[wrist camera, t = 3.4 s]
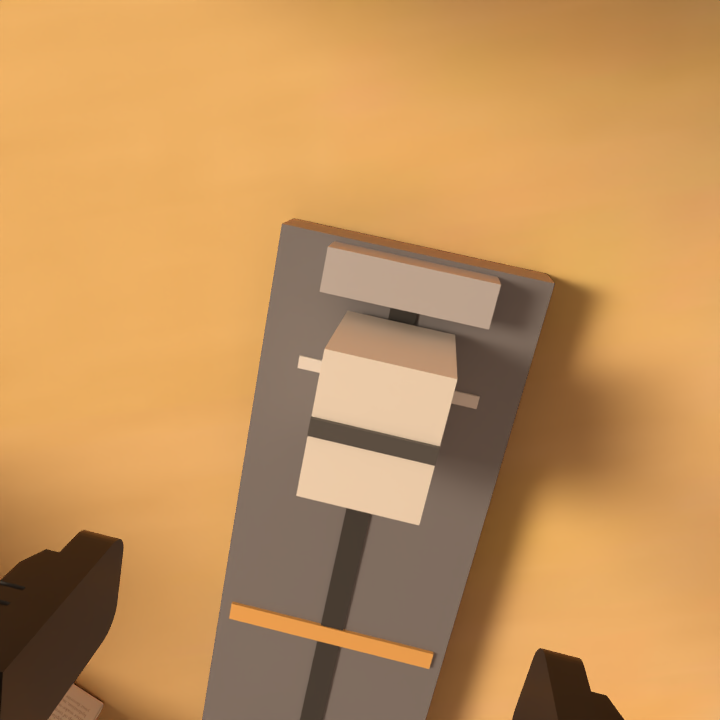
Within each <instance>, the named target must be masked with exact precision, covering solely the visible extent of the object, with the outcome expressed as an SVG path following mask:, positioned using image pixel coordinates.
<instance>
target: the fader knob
mask: <svg viewBox="0 0 720 720" xmlns="http://www.w3.org/2000/svg"><path fill="white" fill-rule="evenodd" d="M456 383H457V361H456V342H455V335H454V334H449V333H445V332H440V331H436V330H431V329H427V328H423V327H418V326H414V325H409V324H405V323H400V322H396V321H391V320H387V319H383V318H378V317H374V316H369V315H365V314H360V313H356V312H352V311H347V312H346V314H345V316H344V317H343V319H342V321H341V322H340V324H339V326H338V327H337V329H336V330H335V332H334V334H333V335H332V337H331V339H330V340H329V342H328V344H327V345H326V347H325V349H324V353H323V359H322V364H321V369H320V374H319V379H318V385H317V390H316V395H315V400H314V405H313V411H312V416H311V418H310V423H309V429H308V434H307V436H308V437H307V442H306V447H305V452H304V458H303V463H302V468H301V473H300V478H299V484H298V489H297V494H296V496H299V497H303V498H307V499H312V500H316V501H320V502H324V503H328V504H332V505H336V506H341V507H345V508H349V509H353V510H357V511H361V512H365V513H370V514H374V515H378V516H382V517H386V518H390V519H394V520H399V521H403V522H407V523H411V524H415V525H419V524H420V521H421V517H422V513H423V509H424V505H425V501H426V498H427V494H428V490H429V486H430V482H431V479H432V475H433V471H434V467H435V465H436V461H437V458H438V454H439V450H440V444H441V440H442V437H443V433H444V429H445V425H446V421H447V417H448V414H449V410H450V406H451V402H452V398H453V394H454V391H455V387H456Z"/></svg>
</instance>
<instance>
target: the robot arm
mask: <svg viewBox="0 0 720 720" xmlns="http://www.w3.org/2000/svg"><path fill="white" fill-rule="evenodd" d="M122 557H123V542H122V540H121V539H117V538H113V537H110V536H106V535H102V534H98V533H94V532H90V531H86V530H83V531H81V532H79V533H78V534H77V535H76V536H75V537H74V538H73V539H72V540H71V541H70V542H69V543H68V544H67V545H66V546H65V547H64V548H63V549H62V550H61V551H60V552H55V551H51V550H47V549H46V550H44V551H42V552H40V553H38V554H35V555H33V556H31V557H29V558H27V559H25V560H23V561H21V562H19V563H18V564H17V565H16V566H15V567H14V568H13V569H12V570H11V571H10V572H9V573H8V574H7V575H5V576H4V577H3V578H2V579H1V580H0V720H48V718H49V717H50V716H51V714H52V713H53V711H54V710H55V709H56V707H57V706H58V704H59V703H60V701H61V700H62V699H63V697H64V696H65V694H66V693H67V691H68V690H69V689H70V687H71V686H72V684H73V683H74V682H75V680H76V679H77V677H78V676H79V674H80V673H81V672H82V670H83V669H84V667H85V666H86V665H87V663H88V662H89V660H90V659H91V657H92V656H93V655H94V653H95V652H96V650H97V649H98V647H99V646H100V645H101V643H102V642H103V640H104V639H105V637H106V635H107V633H108V631H109V629H110V627H111V624H112V621H113V618H114V615H115V611H116V607H117V599H118V591H119V582H120V574H121V565H122ZM512 720H624V719H623V717H622V716H621V715H620V713H619V712H618V711H617V709H616V708H615V706H614V705H613V704H612V702H611V701H610V700H609V698H608V697H607V696H606V695H602V694H598V693H595V692H591V690H590V686H589V682H588V679H587V675H586V671H585V668H584V665H583V662H582V660H581V659H580V658H576V657H572V656H568V655H565V654H561V653H557V652H553V651H549V650H545V649H541V648H540V649H538V650H537V652H536V653H535V655H534V658H533V660H532V663H531V666H530V669H529V672H528V674H527V677H526V680H525V683H524V686H523V689H522V691H521V694H520V697H519V700H518V703H517V705H516V708H515V711H514V715H513V719H512Z"/></svg>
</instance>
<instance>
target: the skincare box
mask: <svg viewBox="0 0 720 720" xmlns="http://www.w3.org/2000/svg"><path fill="white" fill-rule="evenodd" d="M102 708H103V703H102V702H101V701H99V700H98V699H96V698H94V697H93V696H91V695H90V694H88V693H87V692H85V691H84V690H82V689H81V688H79V687H78V686H76V685H75V684H72V686H71V687H70V689H69V690H68V691H67V693H66V694H65V696H64V697H63V699H62V700H61V701H60V703H59V704H58V706H57V707H56V709H55V710H54V711H53V713H52V714H51V716H50V717H49V718H48V720H96V719H97V717H98V716H99V714H100V712H101V710H102Z"/></svg>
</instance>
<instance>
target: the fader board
mask: <svg viewBox="0 0 720 720" xmlns="http://www.w3.org/2000/svg"><path fill="white" fill-rule="evenodd" d="M554 284H555V283H554V282H553V281H552V280H551V278H550V277H549V276H548V275H547V274H546V273H541V272H536V271H532V270H527V269H523V268H518V267H514V266H509V265H504V264H500V263H495V262H491V261H486V260H482V259H477V258H472V257H468V256H463V255H459V254H454V253H450V252H445V251H440V250H436V249H431V248H427V247H422V246H418V245H413V244H408V243H404V242H399V241H395V240H390V239H386V238H381V237H376V236H372V235H367V234H363V233H358V232H354V231H349V230H344V229H340V228H335V227H331V226H326V225H322V224H317V223H313V222H308V221H303V220H299V219H291V220H289V221H287V222H285V223H283V224H282V227H281V234H280V240H279V246H278V252H277V258H276V265H275V271H274V277H273V283H272V289H271V296H270V302H269V308H268V314H267V321H266V327H265V333H264V339H263V345H262V352H261V358H260V364H259V370H258V376H257V383H256V389H255V395H254V401H253V407H252V414H251V420H250V426H249V432H248V439H247V445H246V451H245V457H244V463H243V470H242V476H241V482H240V488H239V494H238V501H237V507H236V513H235V519H234V525H233V532H232V538H231V544H230V550H229V557H228V563H227V569H226V575H225V581H224V588H223V594H222V600H221V606H220V612H219V619H218V625H217V631H216V637H215V643H214V650H213V656H212V662H211V668H210V674H209V681H208V687H207V693H206V699H205V706H204V712H203V718H202V720H426V716H427V713H428V710H429V706H430V703H431V700H432V696H433V693H434V689H435V686H436V683H437V679H438V676H439V673H440V669H441V666H442V662H443V659H444V656H445V652H446V649H447V646H448V642H449V639H450V635H451V632H452V629H453V625H454V622H455V619H456V615H457V612H458V608H459V605H460V602H461V598H462V595H463V592H464V588H465V585H466V581H467V578H468V575H469V571H470V568H471V565H472V561H473V558H474V554H475V551H476V548H477V544H478V541H479V538H480V534H481V531H482V527H483V524H484V521H485V517H486V514H487V511H488V507H489V504H490V500H491V497H492V494H493V490H494V487H495V484H496V480H497V477H498V473H499V470H500V467H501V463H502V460H503V457H504V453H505V450H506V446H507V443H508V440H509V436H510V433H511V430H512V426H513V423H514V419H515V416H516V413H517V409H518V406H519V403H520V399H521V396H522V392H523V389H524V386H525V382H526V379H527V376H528V372H529V369H530V365H531V362H532V359H533V355H534V352H535V349H536V345H537V342H538V338H539V335H540V332H541V328H542V325H543V322H544V318H545V315H546V311H547V308H548V305H549V301H550V298H551V295H552V291H553V288H554ZM347 311H352V312H356V313H360V314H365V315H369V316H374V317H378V318H383V319H387V320H391V321H396V322H400V323H405V324H409V325H414V326H418V327H423V328H427V329H431V330H436V331H440V332H445V333H449V334H454V335H455V342H456V361H457V383H456V387H455V391H454V394H453V398H452V402H451V406H450V410H449V414H448V417H447V421H446V425H445V429H444V433H443V437H442V440H441V444H440V450H439V454H438V458H437V461H436V465H435V467H434V471H433V475H432V479H431V482H430V486H429V490H428V494H427V498H426V501H425V505H424V509H423V513H422V517H421V521H420V524H419V525H415V524H411V523H407V522H403V521H399V520H394V519H390V518H386V517H382V516H378V515H374V514H370V513H365V512H361V511H357V510H353V509H349V508H345V507H341V506H336V505H332V504H328V503H324V502H320V501H316V500H312V499H307V498H303V497H299V496H296V494H297V489H298V484H299V478H300V473H301V468H302V463H303V458H304V452H305V447H306V442H307V437H308V436H307V434H308V429H309V423H310V418H311V416H312V411H313V405H314V400H315V395H316V390H317V385H318V379H319V374H320V369H321V364H322V359H323V353H324V349H325V347H326V345H327V344H328V342H329V340H330V339H331V337H332V335H333V334H334V332H335V330H336V329H337V327H338V326H339V324H340V322H341V321H342V319H343V317H344V316H345V314H346V312H347Z"/></svg>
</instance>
